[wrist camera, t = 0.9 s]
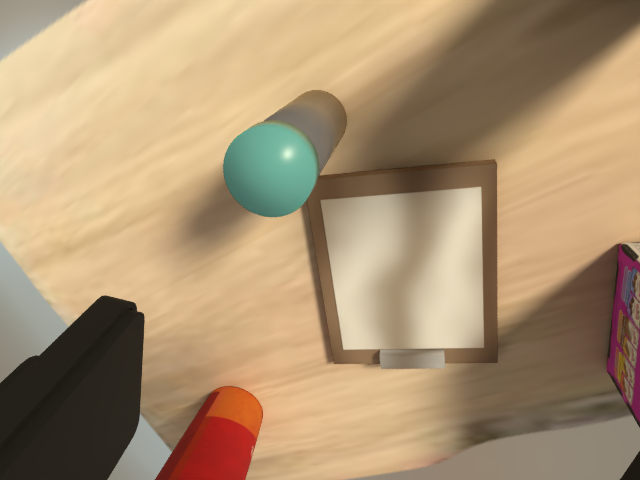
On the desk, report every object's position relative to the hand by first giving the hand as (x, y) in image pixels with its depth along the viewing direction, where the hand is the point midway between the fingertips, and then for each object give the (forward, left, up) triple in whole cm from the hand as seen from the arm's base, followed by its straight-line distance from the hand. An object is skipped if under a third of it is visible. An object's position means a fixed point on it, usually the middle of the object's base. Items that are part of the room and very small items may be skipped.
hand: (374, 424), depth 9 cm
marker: (+6, -1, -27) cm, 27 cm away
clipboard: (+1, +11, -27) cm, 29 cm away
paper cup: (+18, +25, -27) cm, 41 cm away
